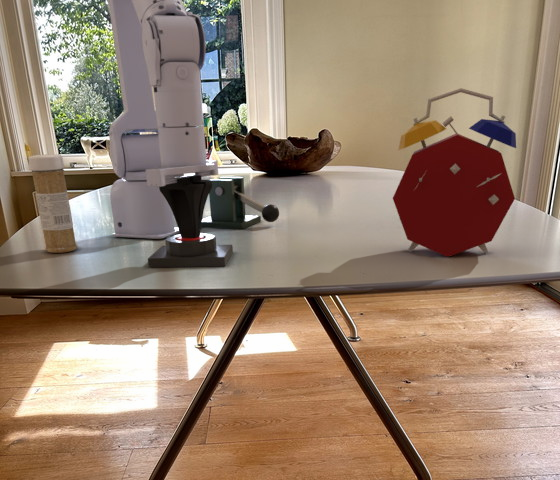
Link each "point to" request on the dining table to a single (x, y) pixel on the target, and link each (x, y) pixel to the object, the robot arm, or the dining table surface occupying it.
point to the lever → (258, 206)
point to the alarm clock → (454, 184)
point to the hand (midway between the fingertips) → (190, 237)
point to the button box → (191, 253)
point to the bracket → (227, 206)
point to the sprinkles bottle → (53, 202)
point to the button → (190, 238)
